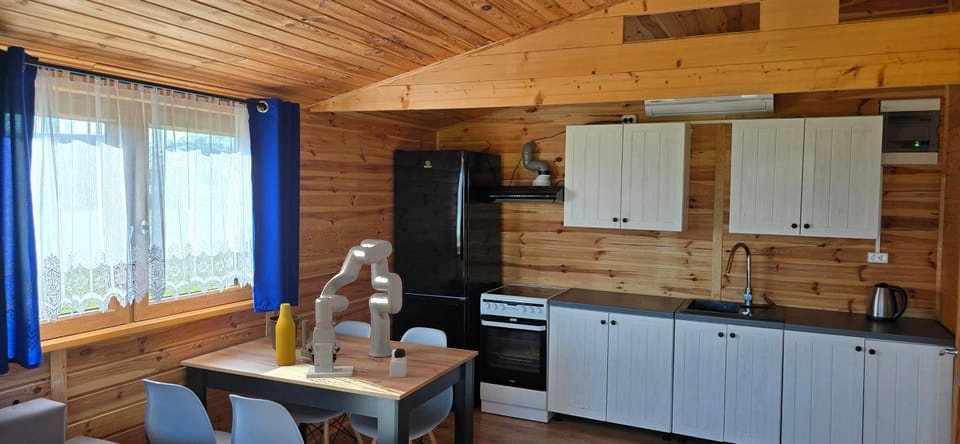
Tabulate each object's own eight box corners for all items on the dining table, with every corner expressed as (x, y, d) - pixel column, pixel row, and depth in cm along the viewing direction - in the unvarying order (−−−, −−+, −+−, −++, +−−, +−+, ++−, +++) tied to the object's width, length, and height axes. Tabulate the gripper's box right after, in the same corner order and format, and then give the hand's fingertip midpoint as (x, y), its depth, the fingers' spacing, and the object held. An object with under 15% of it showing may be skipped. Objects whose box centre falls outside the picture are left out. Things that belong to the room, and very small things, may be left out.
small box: (334, 368, 301) (333, 340, 300) (332, 372, 295) (332, 343, 294) (316, 368, 300) (316, 340, 299) (314, 372, 294) (314, 344, 293)
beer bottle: (285, 360, 320) (285, 301, 318) (299, 362, 316) (299, 303, 314) (271, 364, 312) (271, 304, 310) (286, 367, 307) (285, 306, 306)
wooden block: (314, 359, 322) (314, 323, 321) (300, 355, 328) (300, 320, 327) (320, 357, 325) (320, 322, 324) (306, 354, 331) (306, 319, 330)
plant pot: (291, 352, 335) (291, 321, 334) (262, 350, 338) (262, 320, 337) (305, 344, 351) (305, 315, 350) (277, 343, 354) (276, 313, 353)
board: (353, 369, 305) (353, 365, 305) (351, 376, 293) (351, 373, 293) (309, 370, 302) (309, 367, 302) (306, 378, 290) (306, 374, 290)
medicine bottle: (406, 372, 299) (406, 347, 299) (405, 377, 292) (405, 351, 292) (391, 372, 299) (391, 347, 298) (389, 377, 292) (389, 351, 291)
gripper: (344, 322, 301) (344, 359, 302) (305, 323, 299) (306, 360, 300) (342, 325, 293) (342, 363, 294) (303, 326, 291) (303, 364, 292)
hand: (324, 362), depth 297 cm, fingers closed on small box, 8 cm apart
